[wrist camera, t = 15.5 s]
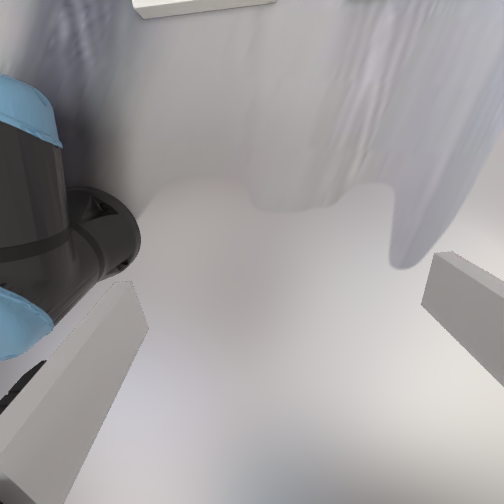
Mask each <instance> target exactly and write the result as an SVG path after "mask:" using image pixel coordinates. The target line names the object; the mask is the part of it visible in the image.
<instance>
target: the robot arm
mask: <svg viewBox="0 0 504 504" xmlns="http://www.w3.org/2000/svg"><path fill="white" fill-rule="evenodd" d="M61 148H63V146H62V143H61V142H60V141H59V138H58V133H57V128H56V122H55V117H54V112H53V108H52V106H51V104H50V102H49V101H48V99H47V98H46V97H45V96H44V95H43V94H42V93H41V92H40V91H38V90H37V89H36V88H34V87H32V86H31V85H29V84H26V83H24V82H22V81H19V80H17V79H14V78H11V77H9V76H6V75H3V74H1V73H0V361H3V360H8V359H11V358H14V357H17V356H19V355H21V354H23V353H24V352H26V351H27V350H29V349H30V348H31V347H32V346H33V345H35V344H36V343H37V342H38V341H39V340H40V339H41V338H42V337H44V336H45V335H48V334H49V333H50V332H51V331H52V330H53V328H54V326H55V325H56V324H57V323H58V322H59V321H60V320H61V319H62V318H63V317H64V316H65V315H66V314H67V313H68V312H69V311H70V309H72V308H73V307H74V306H75V304H77V302H78V301H79V300H80V299H81V298H82V297H83V296H84V295H85V294H86V293H87V292H88V291H89V290H90V289H91V288H92V287H93V286H94V285H95V284H96V283H97V282H99V281H101V280H104V279H106V278H109V277H111V276H114V275H116V274H118V273H120V272H122V271H123V270H125V269H126V268H127V267H128V266H129V265H130V263H132V262H133V260H134V259H135V257H136V256H137V254H138V252H139V249H140V244H141V236H140V231H139V227H138V225H137V222H136V220H135V218H134V217H133V215H132V214H131V212H130V211H129V210H128V209H127V208H126V207H125V206H124V205H123V204H122V203H121V202H120V201H119V200H117V199H116V198H114V197H113V196H111V195H109V194H107V193H105V192H103V191H100V190H97V189H93V188H88V187H75V188H70V189H66V187H65V179H64V170H63V162H62V154H61ZM421 305H422V306H423V307H424V308H425V309H426V310H427V311H428V312H429V313H430V314H431V315H432V316H433V317H434V318H435V319H436V320H437V321H438V322H439V323H440V324H441V325H442V326H443V327H444V328H445V329H446V330H447V331H448V332H449V333H450V334H451V335H452V336H453V337H454V338H455V339H456V340H457V341H458V342H459V343H460V344H461V345H462V346H463V347H464V348H465V349H466V350H467V351H468V352H469V353H470V354H471V355H472V356H473V357H474V358H475V359H476V360H477V361H478V362H479V363H480V364H481V365H482V366H483V367H484V368H485V369H486V370H487V371H488V372H489V373H490V374H491V375H492V376H493V377H494V378H495V379H496V380H497V381H498V382H499V383H500V384H501V385H502V386H503V387H504V281H502V280H500V279H499V278H497V277H495V276H493V275H492V274H490V273H488V272H487V271H485V270H483V269H481V268H480V267H478V266H476V265H474V264H473V263H471V262H469V261H468V260H466V259H464V258H463V257H461V256H459V255H458V254H456V253H454V252H441V253H434V256H433V260H432V264H431V268H430V272H429V275H428V280H427V284H426V287H425V291H424V295H423V299H422V303H421ZM148 329H149V328H148V325H147V322H146V319H145V317H144V314H143V311H142V308H141V306H140V303H139V300H138V297H137V295H136V292H135V289H134V286H133V283H132V281H126V282H115V283H114V284H113V285H112V286H111V287H110V288H109V289H108V291H107V292H106V293H105V294H104V295H103V296H102V298H101V299H100V300H99V301H98V302H97V303H96V305H95V306H94V307H93V308H92V309H91V310H90V312H89V313H88V314H87V315H86V316H85V317H84V318H83V320H82V321H81V322H80V323H79V324H78V325H77V327H76V328H75V329H74V330H73V331H72V332H71V334H70V335H69V336H68V337H67V338H66V339H65V341H64V342H63V343H62V344H61V345H60V346H59V347H58V349H57V350H56V351H55V352H54V353H53V354H52V356H51V357H50V358H49V359H48V360H45V361H41V362H40V363H39V364H37V365H36V366H35V367H33V368H32V369H31V370H29V371H28V372H27V373H26V374H24V375H23V376H22V377H21V378H20V379H19V381H18V382H17V383H16V384H15V385H14V386H13V387H12V388H11V389H10V391H9V393H8V395H5V396H4V397H3V398H2V399H1V400H0V504H64V502H65V500H66V498H67V496H68V494H69V492H70V490H71V488H72V486H73V483H74V481H75V479H76V477H77V475H78V473H79V471H80V469H81V467H82V465H83V463H84V461H85V459H86V457H87V455H88V452H89V451H90V449H91V446H92V445H93V442H94V440H95V438H96V436H97V434H98V432H99V430H100V428H101V426H102V424H103V422H104V420H105V418H106V415H107V414H108V412H109V409H110V408H111V405H112V403H113V401H114V399H115V397H116V395H117V393H118V391H119V389H120V387H121V385H122V383H123V381H124V379H125V376H126V375H127V372H128V371H129V368H130V366H131V364H132V362H133V360H134V358H135V356H136V354H137V352H138V350H139V348H140V346H141V344H142V342H143V340H144V338H145V336H146V334H147V331H148Z"/></svg>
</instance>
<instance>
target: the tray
mask: <svg viewBox="0 0 504 504" xmlns="http://www.w3.org/2000/svg"><path fill="white" fill-rule="evenodd" d="M275 2H276V0H132V3H133V7H134V9H135V10H136V11H137V12H138V13H139V15H140V16H141V17H142V18H143V19H150V18H158V17H166V16H174V15H182V14H190V13H198V12H205V11H213V10H221V9H229V8H237V7H245V6H253V5H261V4H269V3H275Z"/></svg>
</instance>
